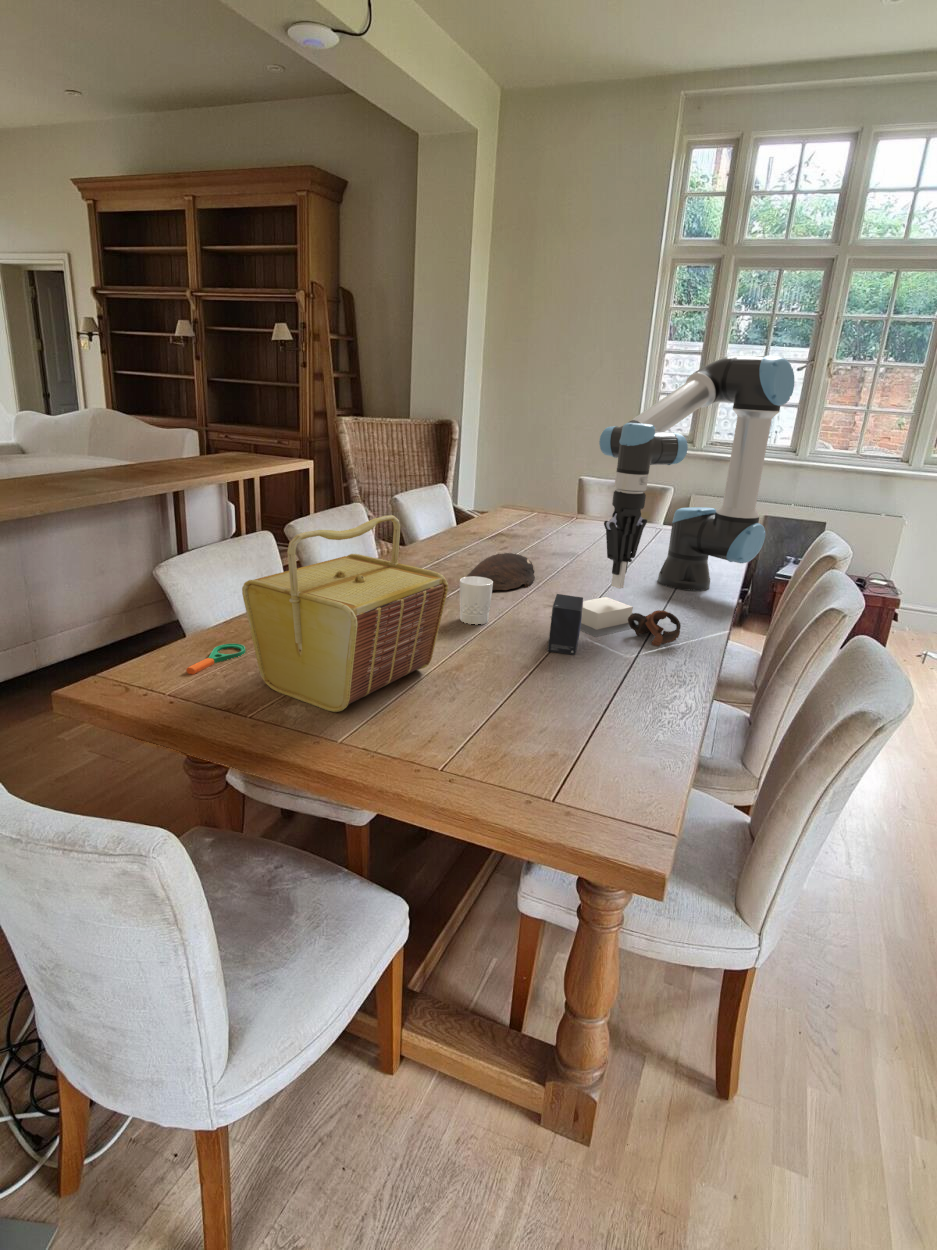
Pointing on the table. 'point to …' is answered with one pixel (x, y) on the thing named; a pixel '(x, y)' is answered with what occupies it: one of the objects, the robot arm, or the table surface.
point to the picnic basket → (343, 622)
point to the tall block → (605, 613)
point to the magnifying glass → (216, 657)
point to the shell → (505, 571)
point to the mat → (605, 629)
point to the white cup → (475, 599)
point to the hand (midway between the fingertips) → (617, 586)
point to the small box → (565, 624)
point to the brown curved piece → (655, 626)
